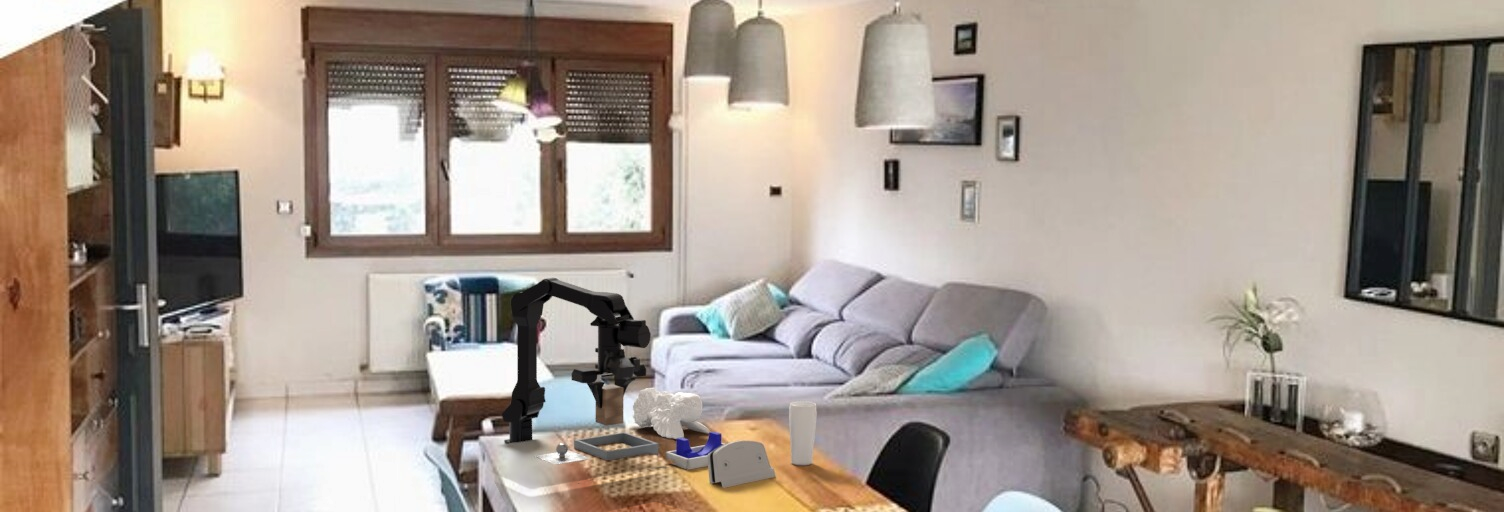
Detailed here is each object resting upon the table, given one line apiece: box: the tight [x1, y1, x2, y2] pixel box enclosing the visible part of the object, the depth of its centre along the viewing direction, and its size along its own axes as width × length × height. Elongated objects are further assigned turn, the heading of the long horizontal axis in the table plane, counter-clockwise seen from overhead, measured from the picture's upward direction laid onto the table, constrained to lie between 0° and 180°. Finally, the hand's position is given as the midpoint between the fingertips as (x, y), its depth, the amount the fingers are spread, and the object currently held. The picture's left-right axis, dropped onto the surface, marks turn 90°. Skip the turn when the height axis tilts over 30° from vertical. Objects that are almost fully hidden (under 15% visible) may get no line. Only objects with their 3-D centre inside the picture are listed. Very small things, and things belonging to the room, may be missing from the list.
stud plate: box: [533, 442, 591, 465], centre depth 314 cm, size 10×10×5 cm
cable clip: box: [675, 431, 722, 459], centre depth 320 cm, size 12×4×6 cm, turn 132°
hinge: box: [707, 440, 776, 489], centre depth 303 cm, size 17×5×10 cm, turn 131°
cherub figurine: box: [632, 387, 711, 440], centre depth 350 cm, size 13×12×20 cm
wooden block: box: [595, 384, 624, 427], centre depth 320 cm, size 5×5×9 cm
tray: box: [573, 431, 659, 461], centre depth 323 cm, size 15×15×4 cm
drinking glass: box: [788, 400, 818, 467], centre depth 318 cm, size 7×7×15 cm
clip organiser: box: [665, 442, 725, 471], centre depth 319 cm, size 9×17×2 cm, turn 129°
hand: (609, 406), depth 320 cm, fingers closed on wooden block, 5 cm apart
